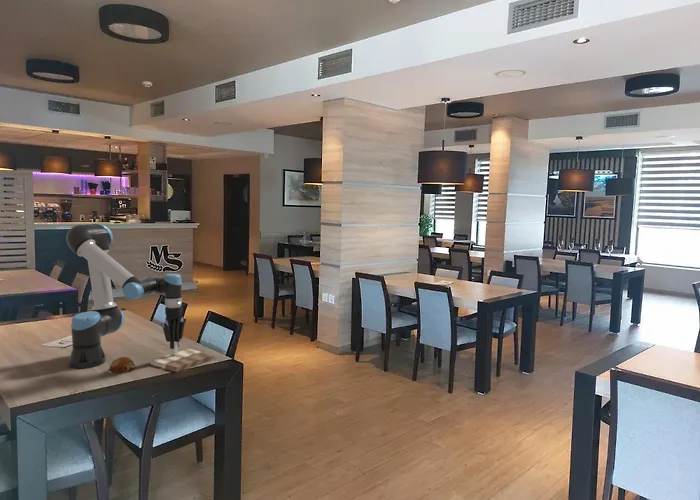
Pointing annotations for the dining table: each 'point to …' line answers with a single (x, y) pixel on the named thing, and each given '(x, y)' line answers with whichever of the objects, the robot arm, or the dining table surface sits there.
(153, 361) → the cream corrugated panel
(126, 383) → the dining table surface
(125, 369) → the bread roll
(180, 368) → the walnut plank
